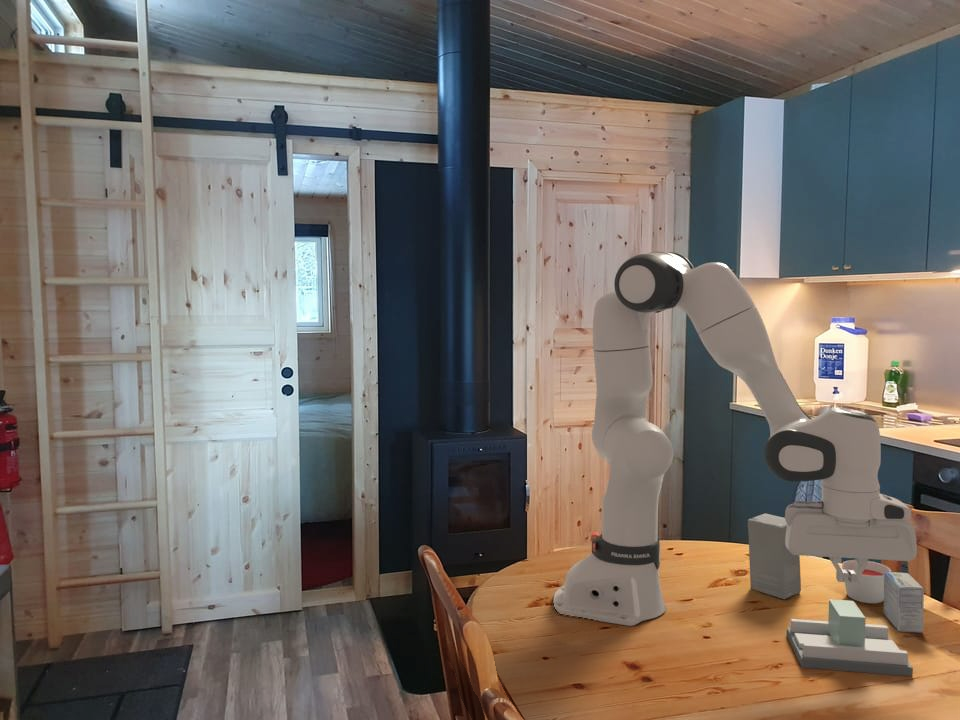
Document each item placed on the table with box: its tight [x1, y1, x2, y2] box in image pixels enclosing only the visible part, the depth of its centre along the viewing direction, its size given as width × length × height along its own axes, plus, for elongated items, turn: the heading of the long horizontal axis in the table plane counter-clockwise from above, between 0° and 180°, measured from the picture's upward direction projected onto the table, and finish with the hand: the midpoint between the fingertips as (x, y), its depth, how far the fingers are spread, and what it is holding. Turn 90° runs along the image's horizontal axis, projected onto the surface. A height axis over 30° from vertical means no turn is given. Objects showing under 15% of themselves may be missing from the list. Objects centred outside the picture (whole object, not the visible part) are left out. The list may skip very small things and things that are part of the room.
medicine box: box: [883, 571, 925, 634], centre depth 138 cm, size 8×4×9 cm, turn 168°
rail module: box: [828, 599, 866, 647], centre depth 126 cm, size 4×7×6 cm, turn 168°
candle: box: [841, 559, 892, 604], centre depth 150 cm, size 9×9×6 cm
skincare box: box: [747, 512, 802, 600], centre depth 153 cm, size 8×7×16 cm
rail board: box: [786, 618, 914, 677], centre depth 126 cm, size 17×12×4 cm
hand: (848, 581), depth 125 cm, fingers closed
